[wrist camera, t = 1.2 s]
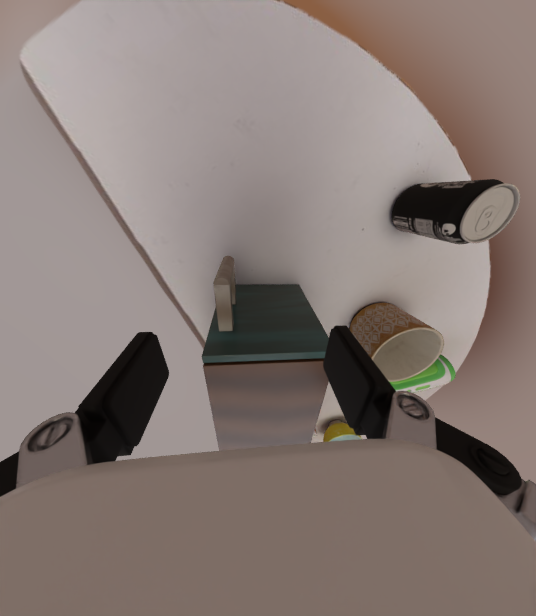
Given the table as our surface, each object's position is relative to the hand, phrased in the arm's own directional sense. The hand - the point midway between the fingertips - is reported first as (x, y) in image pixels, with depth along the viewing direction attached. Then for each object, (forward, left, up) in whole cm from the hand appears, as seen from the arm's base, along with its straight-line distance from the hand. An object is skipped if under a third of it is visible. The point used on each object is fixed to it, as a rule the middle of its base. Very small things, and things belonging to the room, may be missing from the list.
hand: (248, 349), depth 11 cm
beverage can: (+7, +26, -25) cm, 36 cm away
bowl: (+62, -3, -25) cm, 67 cm away
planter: (+27, +16, -25) cm, 40 cm away
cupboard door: (+4, 0, -24) cm, 25 cm away
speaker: (+44, +19, -25) cm, 54 cm away
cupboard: (+16, -6, -24) cm, 30 cm away
